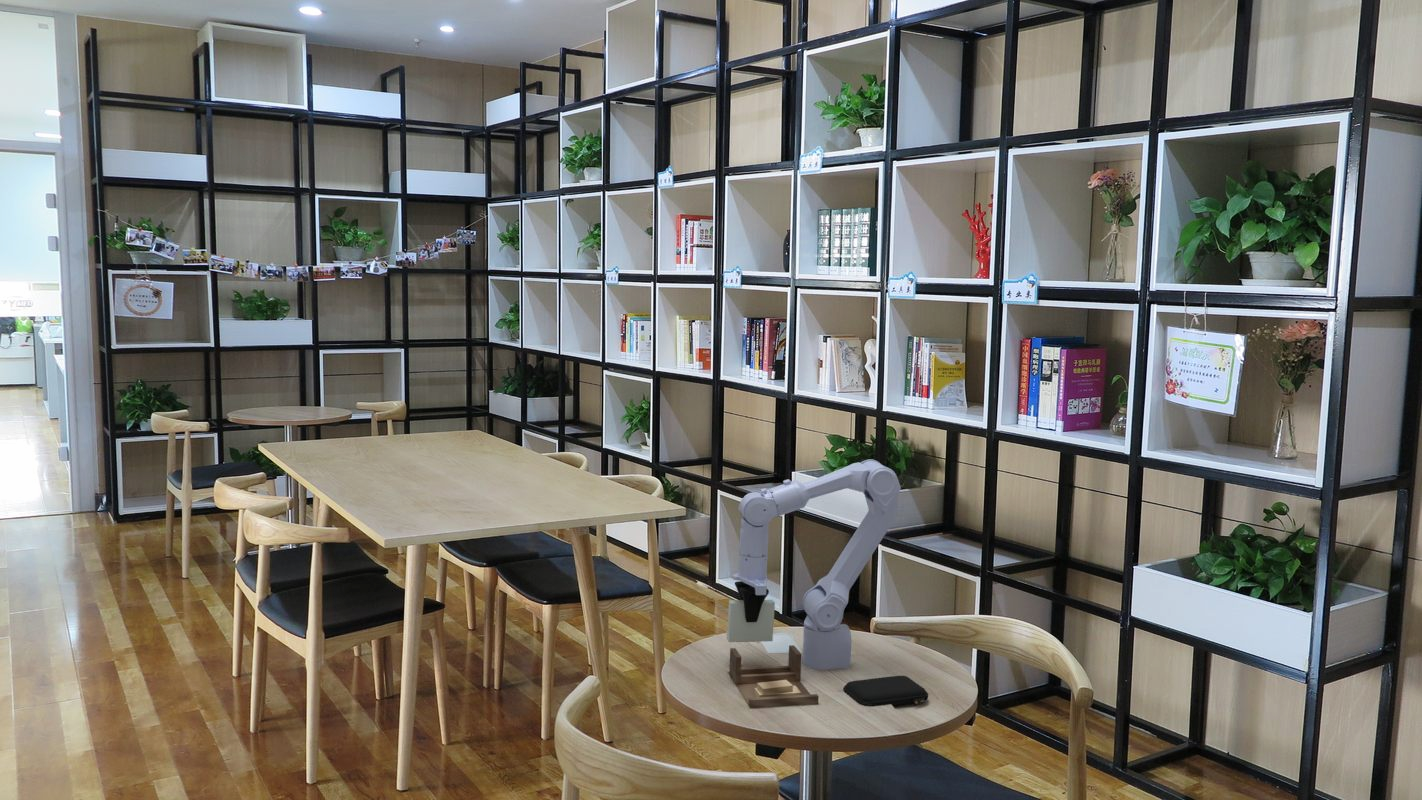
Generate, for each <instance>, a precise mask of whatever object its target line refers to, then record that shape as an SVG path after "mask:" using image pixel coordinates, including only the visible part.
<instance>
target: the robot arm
mask: <svg viewBox="0 0 1422 800" xmlns="http://www.w3.org/2000/svg"><path fill="white" fill-rule="evenodd" d="M782 482H783V483H782V484H780V485H776V486H774V487H771V488H768V489H767V488H766V487H764V488H761V489H760V492H756V491H755V492H748V493H747V494H746V495H744V497H742V498H741V500H740V503H739V504H738V507H737V508H738V512H739V514H740V516H742V517H741V523H740V531H739V547H738V548H739V549H738V565H737V566H738V567H737V569H738V570H737V573H733V574H731V578H732V580H733V581H735V582H734V586H735V587H736V591H737V592H738V597H739V600H743V601H744V608H745V618H746V622H757V620H758V617H759V613H760V610H761V606H762V604H763V602H764V600H766V598H767V597H768V595H769V593H770V592H769V589H768V588H767V582H768V575H767V573H768V558H769V557H768V556H769V538H770V537H769V535H770V532H769V527H770V525H769V524H770V523H771V522H772V520H773V518H778V517H780V516H783V515H786V514H789V513H792V512H795V511H797V510H798V511H799V510H801V509H804V508H805V507H806V505H807V504H808V502H809V501H810V499H815V498H817V497H822V496H825V495H827V494H832V493H835V492H838V491H842V490H845V489H849V490H852V491H855V492H856V491H857V492H861V493H863V494H864V497H865V501H866V505H867V507H868V508H867V509H868V511H867V513H866V514H865V516H864V518H863V519H862V521H861V522H860V524H859V525H858V527H857V528H856V530H855V532H854V533H853V535H852V536H851V538H850V539H849V541H848V543H847V544H846V546H845V547H844V549H843V550H842V551H841V553H840V555H839V557H838V558H837V560H836V561H835V563H834V564H833V566H832V567H831V569H830V571H829V572H828V574H827V575H825V576H823V577H822V578H820V579H818V581H817V583H816V584H815V585H814V586H813V587H812V588H810V589H808V590H807V591H806V592H805V594H804V595H803V596H802V597H803V598H802V601H801V602H802V608H803V610H804V611H805V613H806V617H805V619H804V622H803V635H802V636H803V639H802V656H801V664H802V665H803V666H805V667H807V668H809V669H812V670H818V671H819V670H820V671H825V670H826V671H827V670H833V669H844V668H851V664H852V663H851V660H852V641H853V640H852V632H851V629H850V627H849V626H848V625H847V624H845V623H843V624H842V621H843V619H844V611H845V608H846V607H847V605H848V603H849V598H850V597H849V595H850V590H851V589H852V586H854V584H855V583H856V581H857V579H858V578H859V576H860V574H861V573H862V572H863V570H864V568H865V567H866V565H867V564H868V562H869V561H870V559H871V558H872V556H873V554H874V553H875V551H876V549H877V548H878V546H879V545H880V544H881V541H882V540H883V539H884V537H885V536H886V534H887V532H888V531H889V529H890V528H891V526H892V524H893V523H894V522H895V520H896V517H897V515H898V503H899V493H900V492H901V484H900V481H899V478H898V476H897V473H895V471H894V470H893V469H891V468H889V467H887V466H885V465H883V464H882V463H880V462H879V461H878V460H875V459H866V460H865V459H864V460H863V461H861V462H854V463H851V464H849V465H847V466H844V467H842V468H840V469H837V470H835V471H832V472H829V473H827V474H825V475H822V476H820V477H817V478H815V479H812V480H810V481H807V482H804V483H802V482H801V481H798V480H795V479H794V480H790V479H784V480H783V481H782Z"/></svg>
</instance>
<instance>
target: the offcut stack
mask: <svg viewBox="0 0 1422 800" xmlns="http://www.w3.org/2000/svg"><path fill="white" fill-rule="evenodd" d="M754 694H755V696H756V697H757V698H758V697H775V696H792V695H801V692H800V691H799V689H798V688H797V687H796V686H793V685H792V684H791V683H789V682H788V681H787V680H779V681H770V682H762V683H757V688H755V693H754Z"/></svg>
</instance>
